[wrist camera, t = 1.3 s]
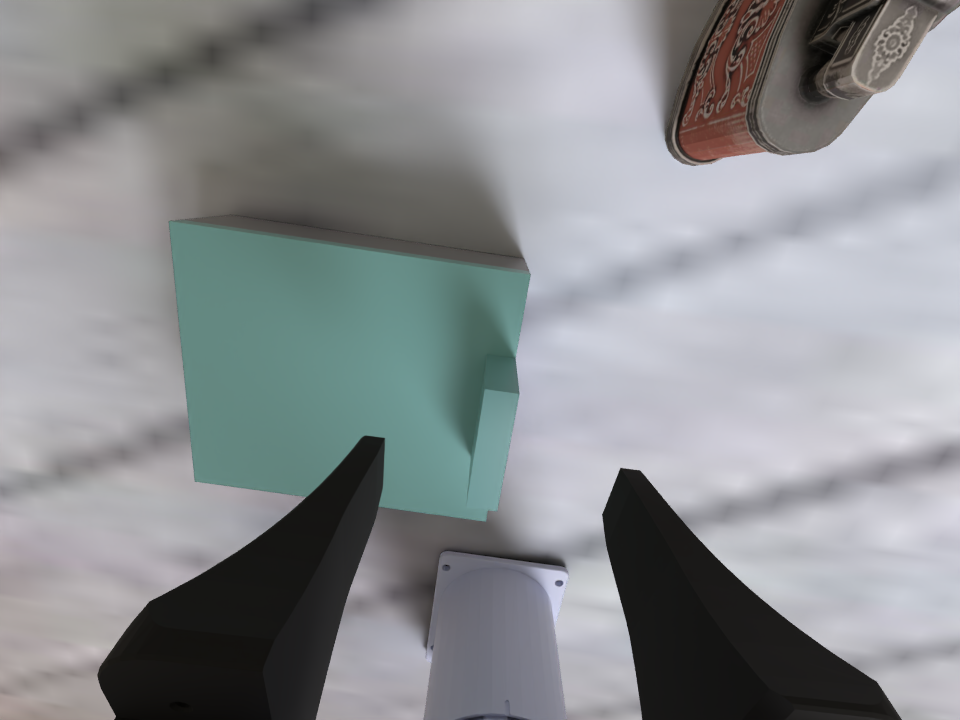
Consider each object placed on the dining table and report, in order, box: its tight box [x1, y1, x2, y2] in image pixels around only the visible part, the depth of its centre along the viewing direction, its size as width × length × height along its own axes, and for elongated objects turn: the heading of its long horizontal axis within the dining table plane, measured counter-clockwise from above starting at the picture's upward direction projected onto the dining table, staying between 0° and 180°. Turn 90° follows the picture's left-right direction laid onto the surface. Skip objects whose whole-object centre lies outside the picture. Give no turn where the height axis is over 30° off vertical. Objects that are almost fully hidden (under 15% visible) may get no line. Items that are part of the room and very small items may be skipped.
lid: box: [169, 220, 531, 522], centre depth 19 cm, size 12×14×5 cm
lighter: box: [665, 0, 960, 166], centre depth 14 cm, size 8×3×10 cm, turn 160°
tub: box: [185, 215, 529, 271], centre depth 22 cm, size 12×14×4 cm
